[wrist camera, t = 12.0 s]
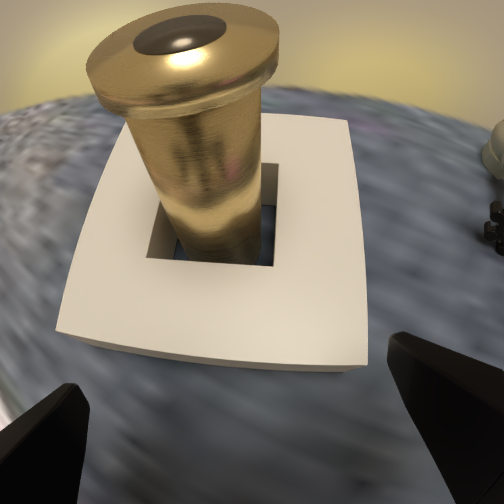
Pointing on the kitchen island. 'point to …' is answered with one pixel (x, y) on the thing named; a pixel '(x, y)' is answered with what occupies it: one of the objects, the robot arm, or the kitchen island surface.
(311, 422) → the kitchen island surface
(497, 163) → the valve
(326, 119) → the jig plate
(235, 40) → the brass bushing
